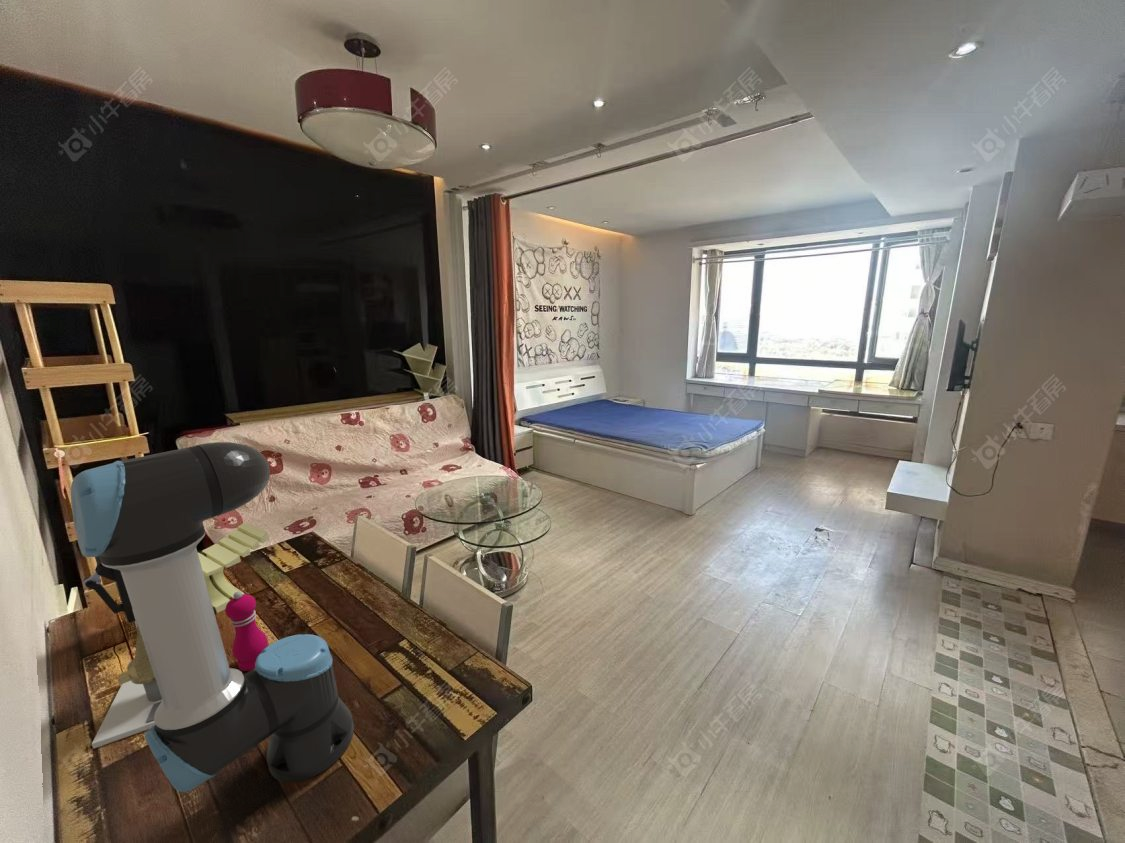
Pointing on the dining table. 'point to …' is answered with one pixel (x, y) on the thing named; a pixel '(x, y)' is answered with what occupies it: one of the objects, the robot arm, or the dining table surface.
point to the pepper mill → (245, 630)
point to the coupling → (138, 665)
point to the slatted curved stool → (228, 561)
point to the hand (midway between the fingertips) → (142, 629)
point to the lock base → (129, 712)
